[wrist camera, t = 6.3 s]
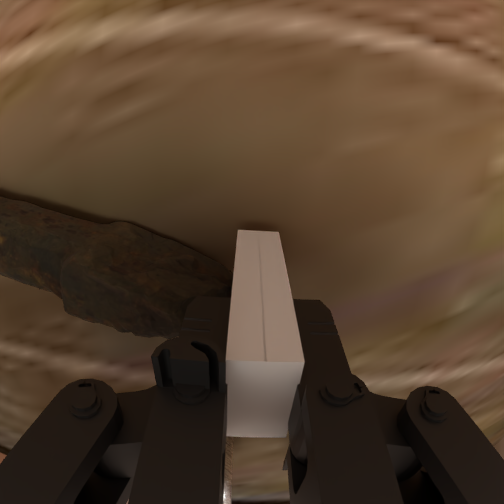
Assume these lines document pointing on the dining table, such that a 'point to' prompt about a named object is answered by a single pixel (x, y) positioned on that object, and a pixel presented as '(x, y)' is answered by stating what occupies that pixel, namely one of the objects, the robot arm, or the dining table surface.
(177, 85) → the dining table surface
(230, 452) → the spacer
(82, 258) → the hand tool
